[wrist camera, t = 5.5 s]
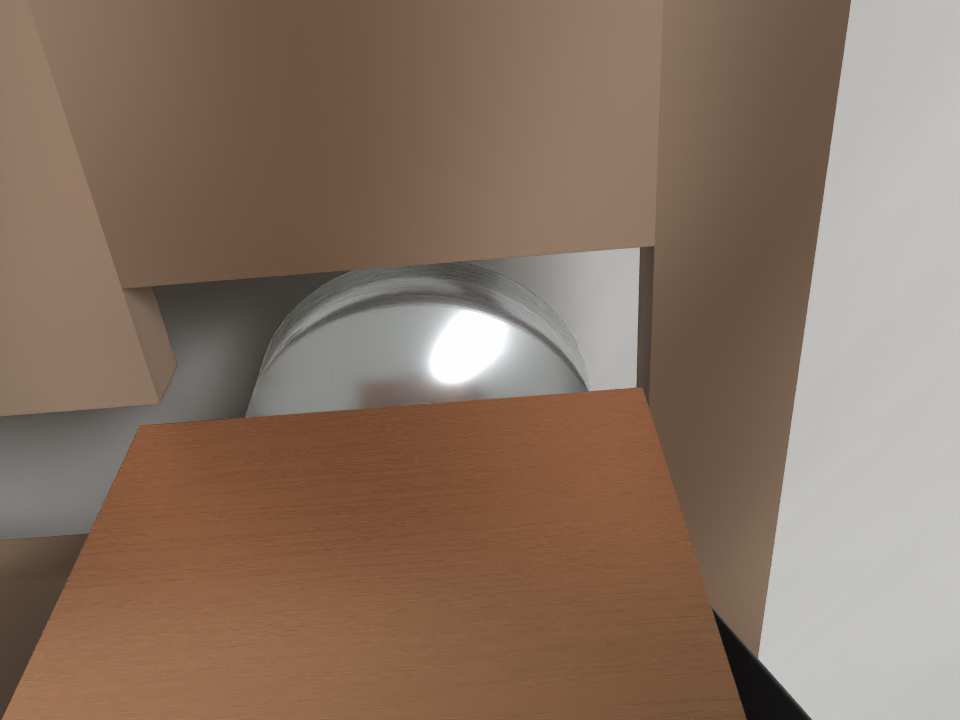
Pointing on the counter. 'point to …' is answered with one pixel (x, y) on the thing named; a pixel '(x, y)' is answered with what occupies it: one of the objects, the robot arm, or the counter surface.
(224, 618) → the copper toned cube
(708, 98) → the four-legged frame stand
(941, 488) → the counter surface
